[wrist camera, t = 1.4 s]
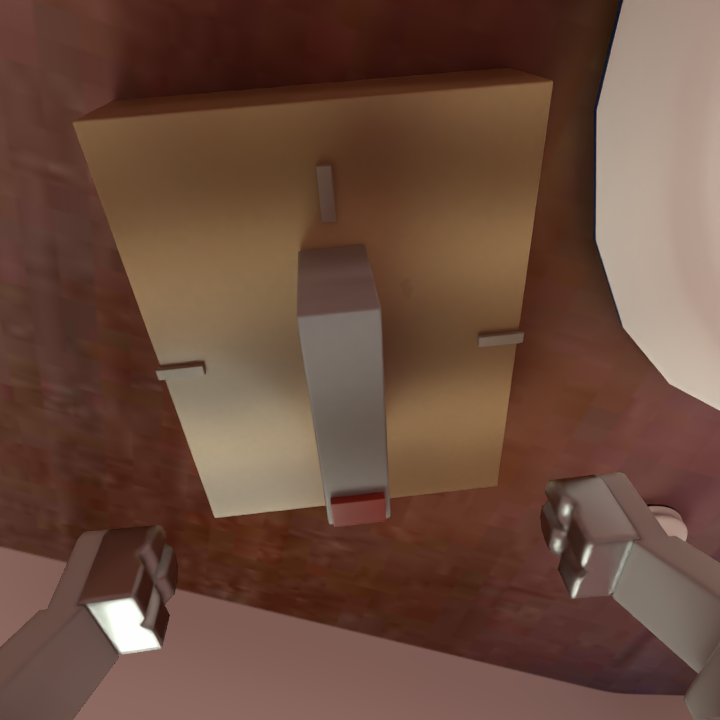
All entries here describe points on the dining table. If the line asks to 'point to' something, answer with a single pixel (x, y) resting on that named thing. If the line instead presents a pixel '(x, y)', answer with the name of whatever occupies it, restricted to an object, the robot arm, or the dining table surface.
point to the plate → (663, 185)
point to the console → (328, 230)
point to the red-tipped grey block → (345, 380)
